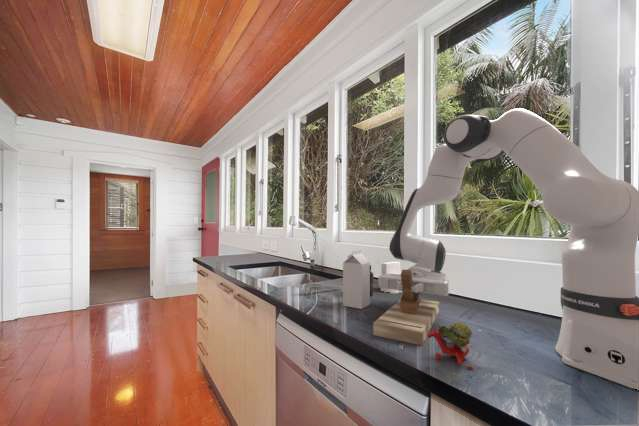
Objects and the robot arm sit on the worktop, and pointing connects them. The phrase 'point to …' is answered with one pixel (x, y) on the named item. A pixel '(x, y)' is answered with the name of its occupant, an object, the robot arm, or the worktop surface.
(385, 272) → the cylinder with rectangular tab
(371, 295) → the supplement bottle
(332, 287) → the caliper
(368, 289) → the milk carton
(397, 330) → the slatted pale wooden block
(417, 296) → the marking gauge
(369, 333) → the worktop surface
